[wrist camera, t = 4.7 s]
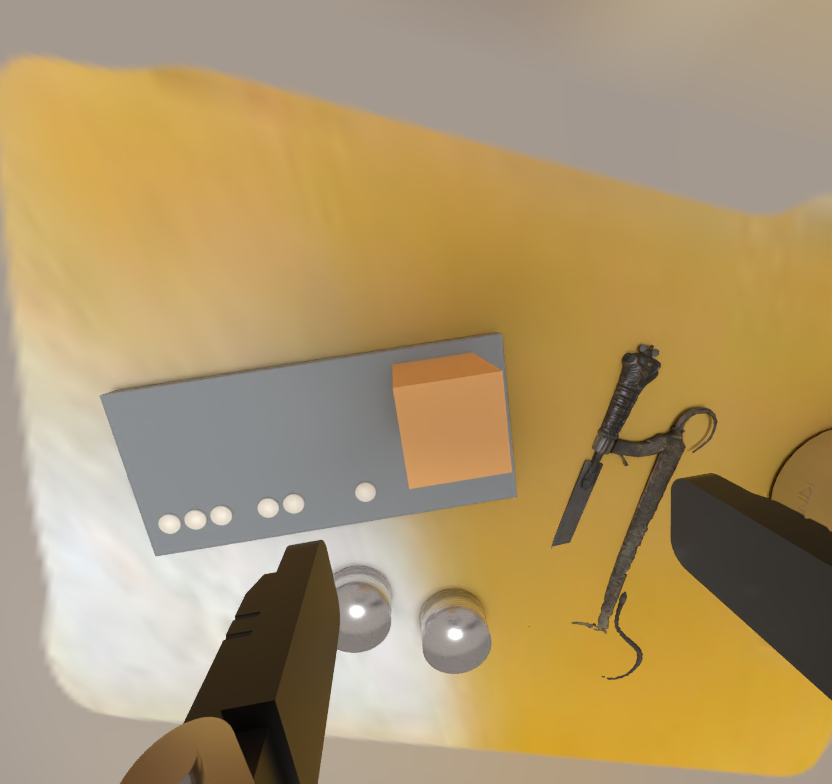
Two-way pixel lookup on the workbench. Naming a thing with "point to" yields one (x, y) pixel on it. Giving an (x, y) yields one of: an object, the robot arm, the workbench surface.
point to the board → (282, 449)
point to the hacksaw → (668, 446)
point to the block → (451, 419)
